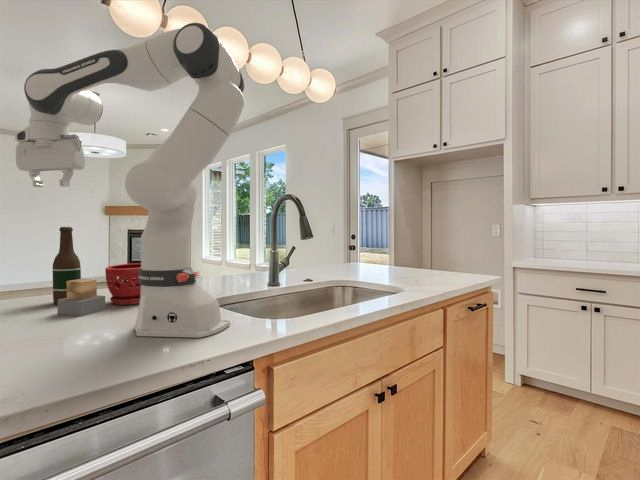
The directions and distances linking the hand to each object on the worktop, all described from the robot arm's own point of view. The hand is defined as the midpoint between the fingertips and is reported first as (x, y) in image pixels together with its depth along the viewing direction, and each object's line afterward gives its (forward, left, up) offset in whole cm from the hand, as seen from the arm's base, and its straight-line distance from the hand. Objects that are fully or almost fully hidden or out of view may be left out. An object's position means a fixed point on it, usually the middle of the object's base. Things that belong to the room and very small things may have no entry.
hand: (51, 186), depth 100 cm
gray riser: (-6, -3, -35) cm, 36 cm away
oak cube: (-6, -3, -31) cm, 32 cm away
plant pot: (-9, -18, -35) cm, 41 cm away
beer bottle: (+9, -12, -35) cm, 38 cm away
